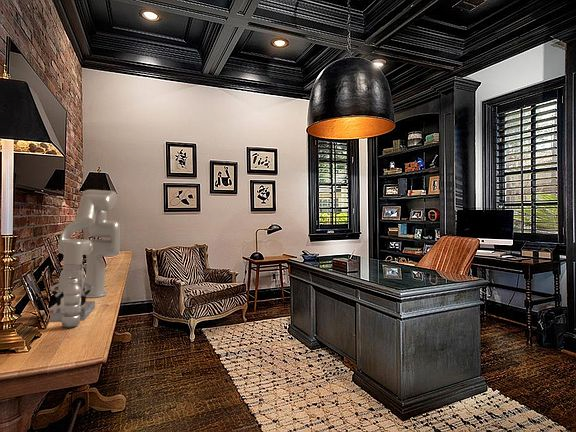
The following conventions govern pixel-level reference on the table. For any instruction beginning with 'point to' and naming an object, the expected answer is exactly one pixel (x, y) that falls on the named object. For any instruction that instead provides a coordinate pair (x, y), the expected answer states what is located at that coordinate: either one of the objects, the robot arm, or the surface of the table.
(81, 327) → the table surface
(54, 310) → the socket
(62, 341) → the table surface
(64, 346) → the table surface
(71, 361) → the table surface
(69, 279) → the plastic bottle
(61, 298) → the plug
